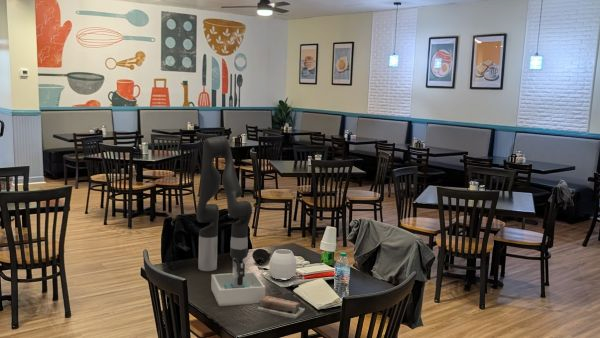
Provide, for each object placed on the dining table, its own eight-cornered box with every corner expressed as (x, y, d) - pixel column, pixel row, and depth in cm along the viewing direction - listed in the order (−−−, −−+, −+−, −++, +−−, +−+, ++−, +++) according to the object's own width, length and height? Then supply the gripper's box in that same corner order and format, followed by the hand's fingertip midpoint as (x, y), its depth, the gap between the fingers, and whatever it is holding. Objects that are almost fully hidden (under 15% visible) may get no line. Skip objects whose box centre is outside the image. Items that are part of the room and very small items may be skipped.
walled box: (211, 289, 250) (211, 274, 249) (253, 286, 257) (254, 271, 256) (219, 306, 232) (219, 290, 231) (264, 302, 238) (265, 287, 237)
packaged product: (256, 300, 229) (267, 292, 238) (256, 311, 230) (266, 303, 239) (296, 308, 222) (305, 300, 231) (295, 320, 223) (305, 311, 232)
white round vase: (264, 279, 266) (265, 253, 264) (275, 272, 278) (276, 246, 276) (289, 284, 261) (290, 257, 259) (299, 276, 273) (301, 250, 272)
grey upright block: (232, 292, 245) (232, 266, 244) (240, 291, 247) (241, 265, 245) (233, 295, 242) (234, 269, 240) (242, 294, 243) (243, 268, 241)
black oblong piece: (248, 257, 284) (252, 238, 300) (256, 274, 289) (259, 254, 305) (265, 253, 282) (267, 233, 298) (273, 269, 287) (275, 249, 303)
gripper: (227, 241, 246) (226, 276, 249) (233, 251, 233) (232, 287, 235) (243, 241, 249) (242, 275, 251) (251, 250, 236) (249, 286, 238)
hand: (237, 281), depth 243 cm, fingers open, 8 cm apart
